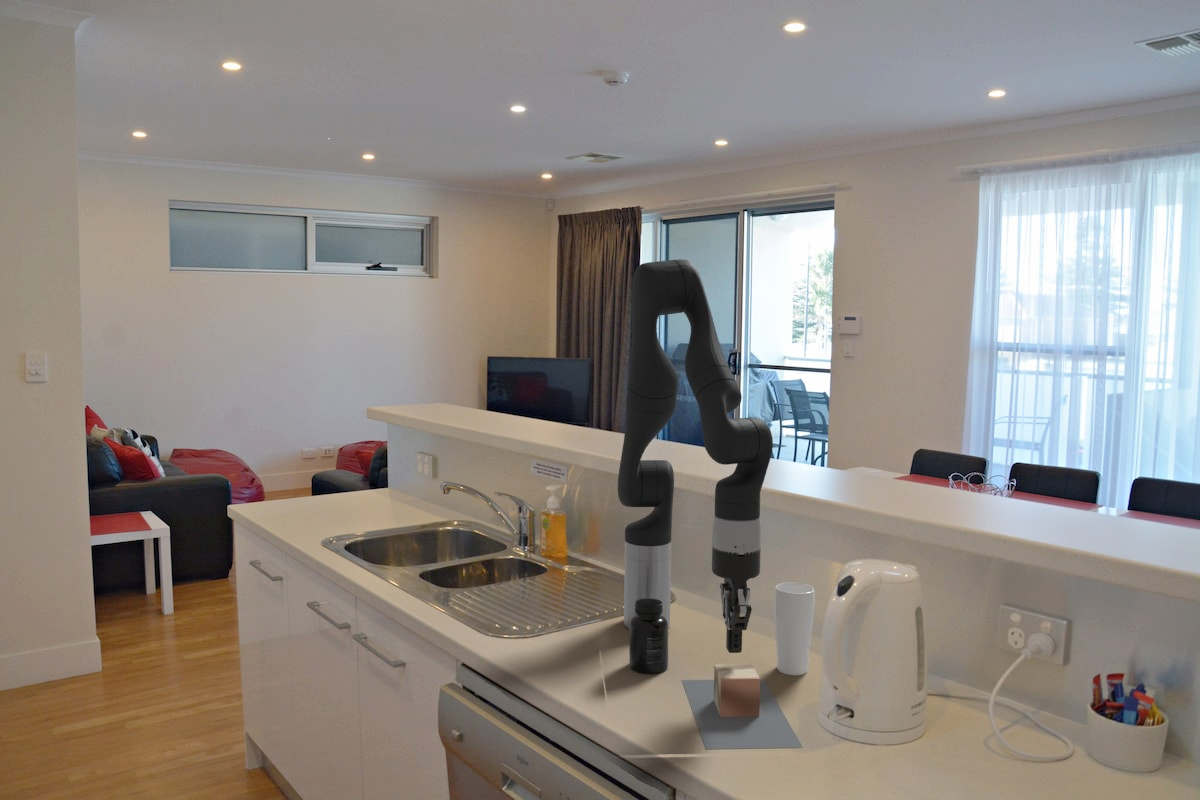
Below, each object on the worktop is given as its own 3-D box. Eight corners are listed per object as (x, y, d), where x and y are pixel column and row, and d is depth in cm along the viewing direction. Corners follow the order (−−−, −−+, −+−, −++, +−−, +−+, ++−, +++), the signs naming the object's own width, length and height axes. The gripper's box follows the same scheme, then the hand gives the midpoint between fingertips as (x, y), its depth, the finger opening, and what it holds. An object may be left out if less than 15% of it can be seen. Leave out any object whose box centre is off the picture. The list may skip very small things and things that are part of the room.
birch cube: (714, 663, 142) (721, 679, 136) (751, 663, 142) (760, 678, 136) (713, 700, 142) (720, 717, 136) (750, 699, 143) (759, 716, 137)
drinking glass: (765, 666, 157) (767, 584, 156) (798, 661, 159) (800, 580, 158) (786, 681, 151) (788, 595, 149) (820, 676, 153) (822, 591, 152)
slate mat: (681, 682, 150) (681, 680, 150) (763, 681, 151) (763, 679, 151) (705, 751, 126) (705, 749, 126) (802, 750, 127) (803, 747, 127)
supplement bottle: (671, 663, 158) (672, 598, 157) (663, 678, 152) (664, 610, 150) (633, 659, 160) (634, 594, 159) (624, 674, 153) (625, 606, 152)
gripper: (705, 534, 146) (703, 636, 148) (720, 555, 133) (718, 668, 134) (750, 533, 146) (748, 636, 148) (770, 555, 133) (767, 667, 135)
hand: (733, 651), depth 141 cm, fingers closed
